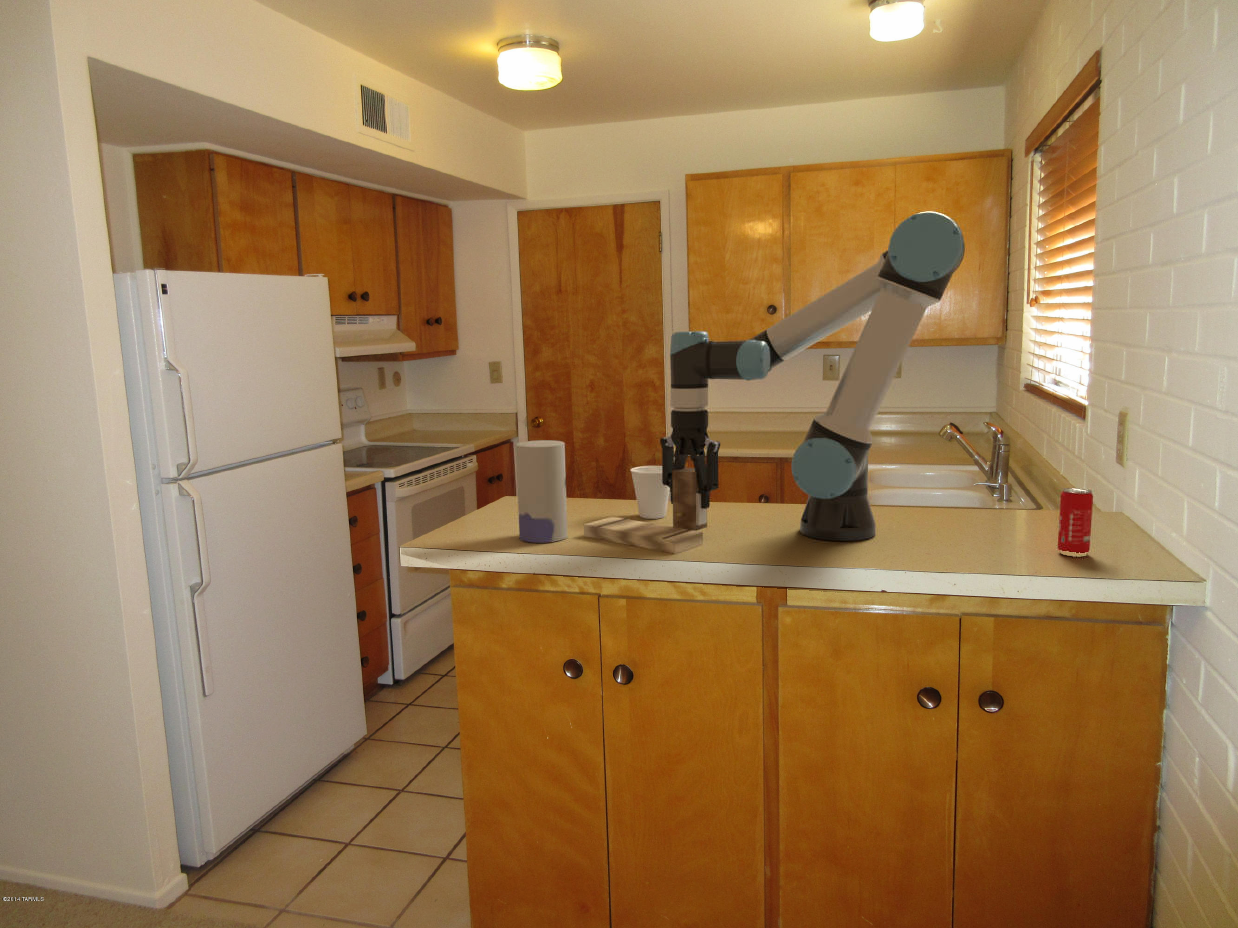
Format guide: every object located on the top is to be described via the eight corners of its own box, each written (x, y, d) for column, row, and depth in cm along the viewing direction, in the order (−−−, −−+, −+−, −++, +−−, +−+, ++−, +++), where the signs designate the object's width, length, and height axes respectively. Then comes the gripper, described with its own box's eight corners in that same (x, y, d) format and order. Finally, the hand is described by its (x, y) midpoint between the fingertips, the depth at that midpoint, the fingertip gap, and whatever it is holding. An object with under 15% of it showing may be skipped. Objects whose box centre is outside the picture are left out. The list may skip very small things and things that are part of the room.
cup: (675, 520, 191) (674, 472, 189) (631, 521, 191) (630, 473, 189) (673, 511, 200) (672, 465, 199) (631, 512, 201) (630, 466, 199)
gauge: (707, 527, 175) (706, 469, 173) (688, 533, 170) (688, 474, 168) (687, 523, 178) (687, 467, 177) (668, 529, 174) (667, 471, 172)
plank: (702, 544, 170) (702, 531, 169) (675, 553, 163) (675, 540, 163) (612, 527, 185) (612, 516, 185) (584, 535, 179) (583, 523, 178)
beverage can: (1072, 559, 154) (1077, 493, 152) (1050, 552, 158) (1054, 488, 157) (1095, 556, 155) (1100, 491, 153) (1073, 549, 160) (1077, 486, 158)
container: (577, 535, 179) (574, 441, 176) (547, 545, 171) (543, 447, 168) (540, 529, 185) (536, 438, 182) (509, 539, 177) (505, 444, 174)
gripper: (737, 409, 168) (737, 524, 172) (665, 405, 180) (666, 513, 183) (716, 412, 162) (716, 531, 166) (642, 408, 174) (644, 519, 178)
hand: (690, 521), depth 175 cm, fingers closed on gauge, 5 cm apart
